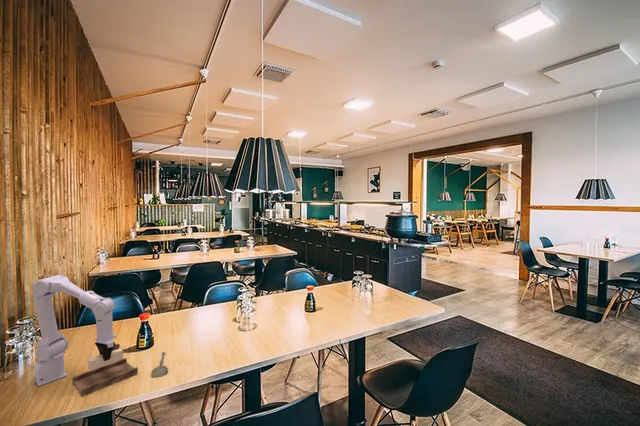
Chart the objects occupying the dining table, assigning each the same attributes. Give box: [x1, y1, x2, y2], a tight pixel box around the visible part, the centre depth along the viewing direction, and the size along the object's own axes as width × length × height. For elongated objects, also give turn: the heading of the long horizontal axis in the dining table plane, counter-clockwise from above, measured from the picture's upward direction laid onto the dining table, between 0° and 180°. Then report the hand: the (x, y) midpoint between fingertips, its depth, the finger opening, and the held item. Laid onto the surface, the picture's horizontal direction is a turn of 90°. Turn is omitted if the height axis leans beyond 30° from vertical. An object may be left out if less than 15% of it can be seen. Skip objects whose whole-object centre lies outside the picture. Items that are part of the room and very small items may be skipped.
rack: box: [71, 357, 139, 397], centre depth 131 cm, size 20×14×3 cm
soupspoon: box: [150, 351, 169, 379], centre depth 142 cm, size 22×3×7 cm
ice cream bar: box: [112, 343, 121, 351], centre depth 153 cm, size 5×2×15 cm
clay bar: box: [87, 347, 124, 371], centre depth 131 cm, size 12×3×4 cm, turn 142°
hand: (105, 358), depth 131 cm, fingers closed on clay bar, 3 cm apart
